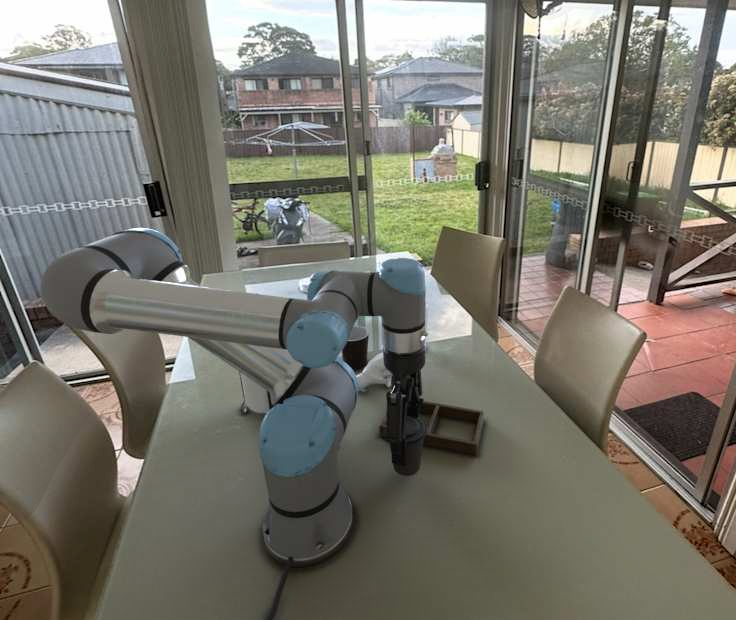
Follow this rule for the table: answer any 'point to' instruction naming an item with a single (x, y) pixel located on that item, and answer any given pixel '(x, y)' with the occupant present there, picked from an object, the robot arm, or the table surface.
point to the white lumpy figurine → (374, 373)
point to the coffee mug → (356, 348)
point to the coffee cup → (412, 445)
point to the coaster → (304, 284)
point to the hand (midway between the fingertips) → (406, 446)
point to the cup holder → (445, 441)
